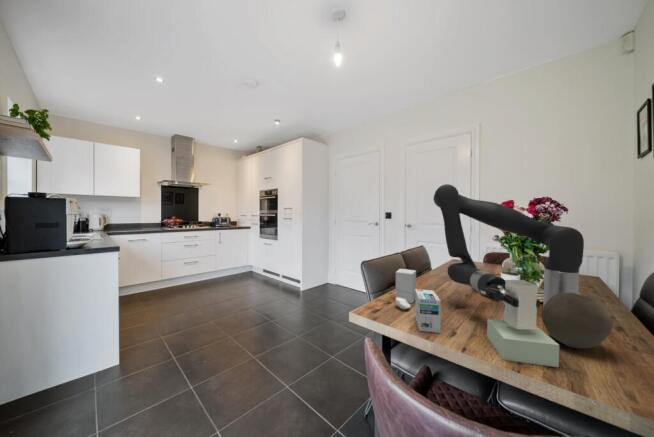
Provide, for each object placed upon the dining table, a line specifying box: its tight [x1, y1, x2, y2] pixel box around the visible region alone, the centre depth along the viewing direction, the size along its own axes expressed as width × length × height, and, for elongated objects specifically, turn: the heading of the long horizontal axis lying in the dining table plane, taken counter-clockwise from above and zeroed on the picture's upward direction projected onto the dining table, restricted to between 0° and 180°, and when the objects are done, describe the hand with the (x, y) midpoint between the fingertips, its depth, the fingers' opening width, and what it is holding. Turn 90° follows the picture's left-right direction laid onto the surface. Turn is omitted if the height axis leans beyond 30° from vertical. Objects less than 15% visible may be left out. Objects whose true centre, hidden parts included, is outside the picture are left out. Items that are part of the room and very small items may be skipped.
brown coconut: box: [541, 292, 614, 350], centre depth 72 cm, size 14×14×15 cm
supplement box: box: [395, 268, 417, 304], centre depth 109 cm, size 7×7×13 cm
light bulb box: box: [414, 288, 442, 334], centre depth 85 cm, size 11×7×11 cm, turn 168°
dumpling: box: [394, 297, 412, 310], centre depth 99 cm, size 7×5×4 cm
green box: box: [486, 318, 560, 368], centre depth 69 cm, size 12×12×6 cm
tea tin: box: [503, 279, 539, 329], centre depth 69 cm, size 5×5×12 cm
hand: (527, 303), depth 66 cm, fingers closed on tea tin, 5 cm apart
